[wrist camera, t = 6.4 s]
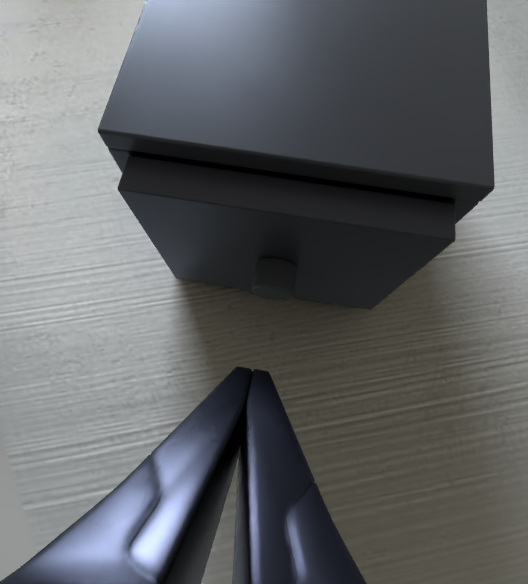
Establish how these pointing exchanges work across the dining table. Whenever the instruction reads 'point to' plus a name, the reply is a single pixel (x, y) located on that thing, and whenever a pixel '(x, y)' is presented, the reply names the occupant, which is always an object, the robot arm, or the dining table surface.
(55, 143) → the dining table surface
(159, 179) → the fryer drawer
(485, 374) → the dining table surface
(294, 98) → the dark grey box
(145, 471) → the robot arm
